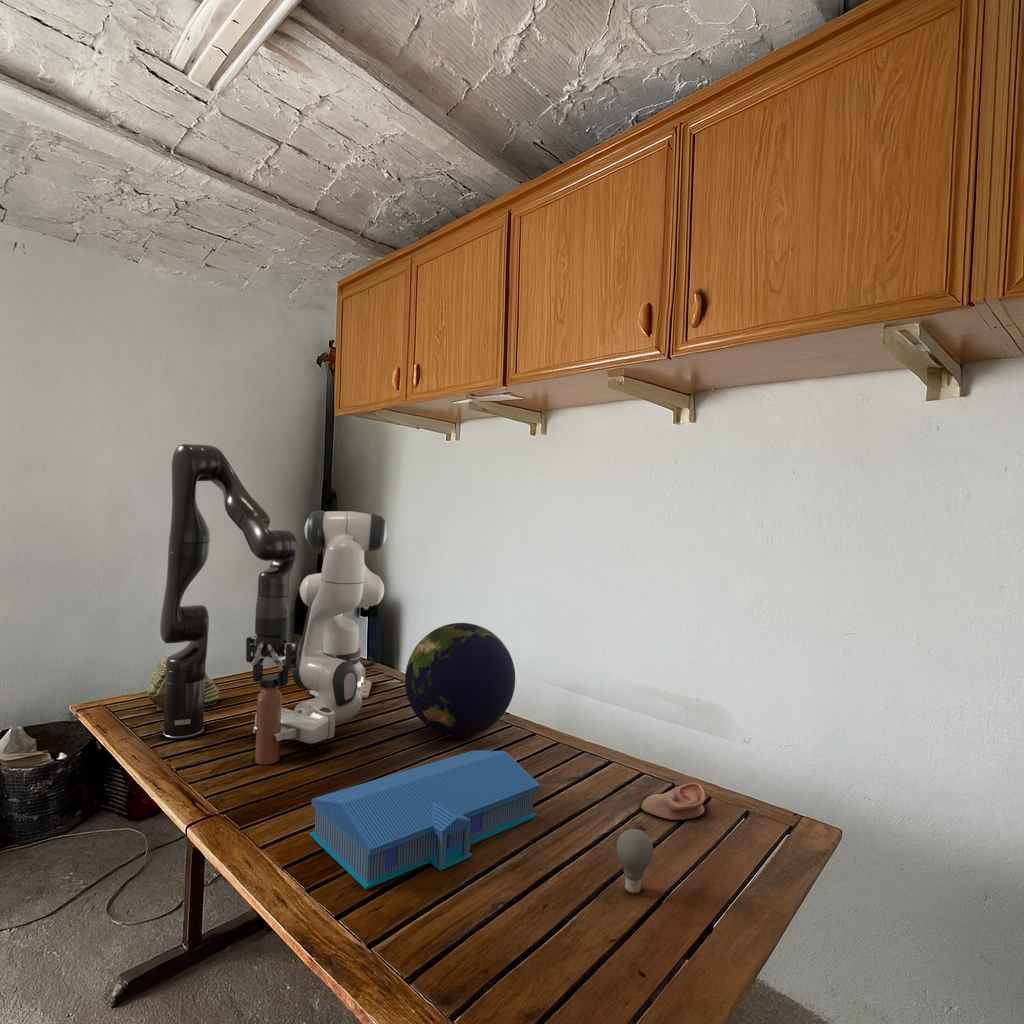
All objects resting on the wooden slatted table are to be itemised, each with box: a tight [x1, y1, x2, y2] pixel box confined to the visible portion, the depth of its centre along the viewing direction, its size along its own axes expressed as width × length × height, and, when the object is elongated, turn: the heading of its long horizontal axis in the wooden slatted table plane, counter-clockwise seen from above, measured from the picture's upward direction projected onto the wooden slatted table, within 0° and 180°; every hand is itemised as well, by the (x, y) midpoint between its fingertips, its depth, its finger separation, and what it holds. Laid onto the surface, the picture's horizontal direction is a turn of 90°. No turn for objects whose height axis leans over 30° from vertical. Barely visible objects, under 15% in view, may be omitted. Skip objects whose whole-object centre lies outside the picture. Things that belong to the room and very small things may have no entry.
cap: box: [259, 674, 279, 689], centre depth 151 cm, size 4×4×2 cm
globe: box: [404, 622, 516, 738], centre depth 173 cm, size 30×30×30 cm
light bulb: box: [615, 828, 654, 894], centre depth 106 cm, size 6×6×10 cm
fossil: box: [147, 654, 221, 712], centre depth 185 cm, size 9×18×15 cm, turn 132°
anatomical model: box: [640, 782, 706, 821], centre depth 135 cm, size 13×4×12 cm
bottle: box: [254, 687, 283, 766], centre depth 151 cm, size 6×6×19 cm
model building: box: [309, 750, 541, 890], centre depth 123 cm, size 39×24×10 cm, turn 132°
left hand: (270, 683), depth 151 cm, fingers open, 7 cm apart
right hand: (265, 734), depth 150 cm, fingers closed on bottle, 5 cm apart
